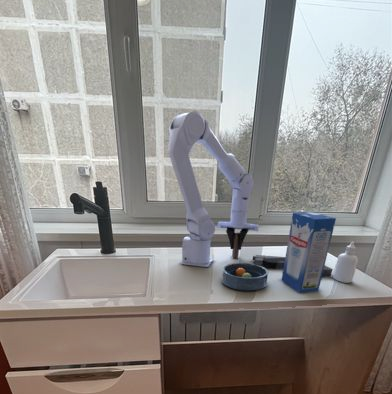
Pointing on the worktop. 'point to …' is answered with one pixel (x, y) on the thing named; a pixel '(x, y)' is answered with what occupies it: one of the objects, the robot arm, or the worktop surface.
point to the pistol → (280, 263)
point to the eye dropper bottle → (346, 265)
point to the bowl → (245, 283)
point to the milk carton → (307, 250)
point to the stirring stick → (236, 244)
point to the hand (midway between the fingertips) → (235, 248)
